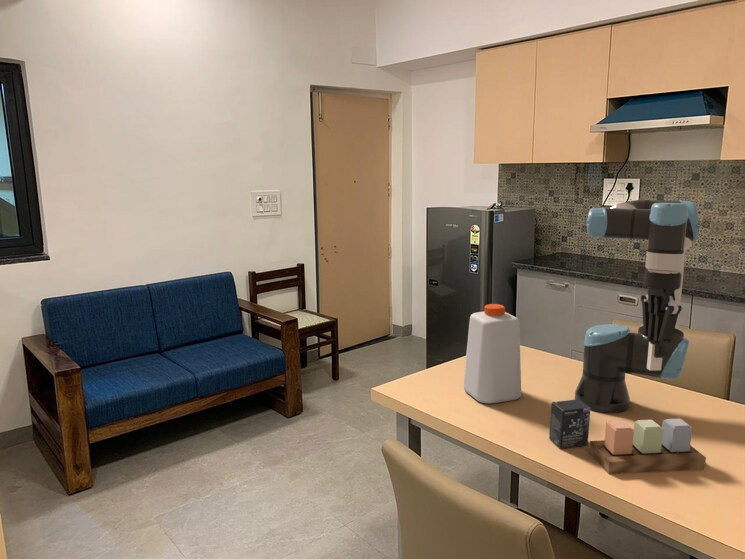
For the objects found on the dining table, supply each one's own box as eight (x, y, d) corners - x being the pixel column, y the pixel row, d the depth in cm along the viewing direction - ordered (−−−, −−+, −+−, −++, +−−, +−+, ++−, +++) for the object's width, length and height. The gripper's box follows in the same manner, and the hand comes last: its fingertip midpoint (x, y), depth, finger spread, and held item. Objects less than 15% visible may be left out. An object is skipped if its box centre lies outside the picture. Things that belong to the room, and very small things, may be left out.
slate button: (671, 452, 135) (673, 426, 134) (660, 442, 139) (663, 418, 138) (689, 451, 135) (692, 426, 134) (678, 442, 140) (681, 417, 138)
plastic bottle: (500, 381, 187) (503, 298, 181) (526, 399, 173) (531, 309, 167) (458, 388, 182) (460, 302, 176) (482, 407, 168) (484, 314, 162)
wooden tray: (608, 473, 132) (609, 461, 131) (589, 452, 142) (590, 440, 141) (704, 469, 133) (705, 457, 133) (679, 448, 143) (680, 437, 143)
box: (560, 450, 143) (562, 410, 141) (548, 439, 148) (550, 401, 146) (588, 446, 145) (591, 407, 142) (575, 435, 150) (578, 398, 148)
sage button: (642, 453, 135) (644, 428, 133) (632, 444, 139) (634, 419, 138) (660, 452, 135) (663, 427, 133) (650, 443, 139) (652, 418, 138)
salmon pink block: (613, 454, 134) (615, 429, 133) (604, 445, 138) (606, 420, 137) (631, 453, 134) (634, 428, 133) (622, 444, 139) (624, 419, 137)
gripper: (696, 275, 125) (685, 378, 129) (662, 266, 138) (653, 360, 142) (663, 275, 125) (653, 379, 129) (632, 266, 138) (624, 361, 142)
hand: (653, 369), depth 135 cm, fingers closed
